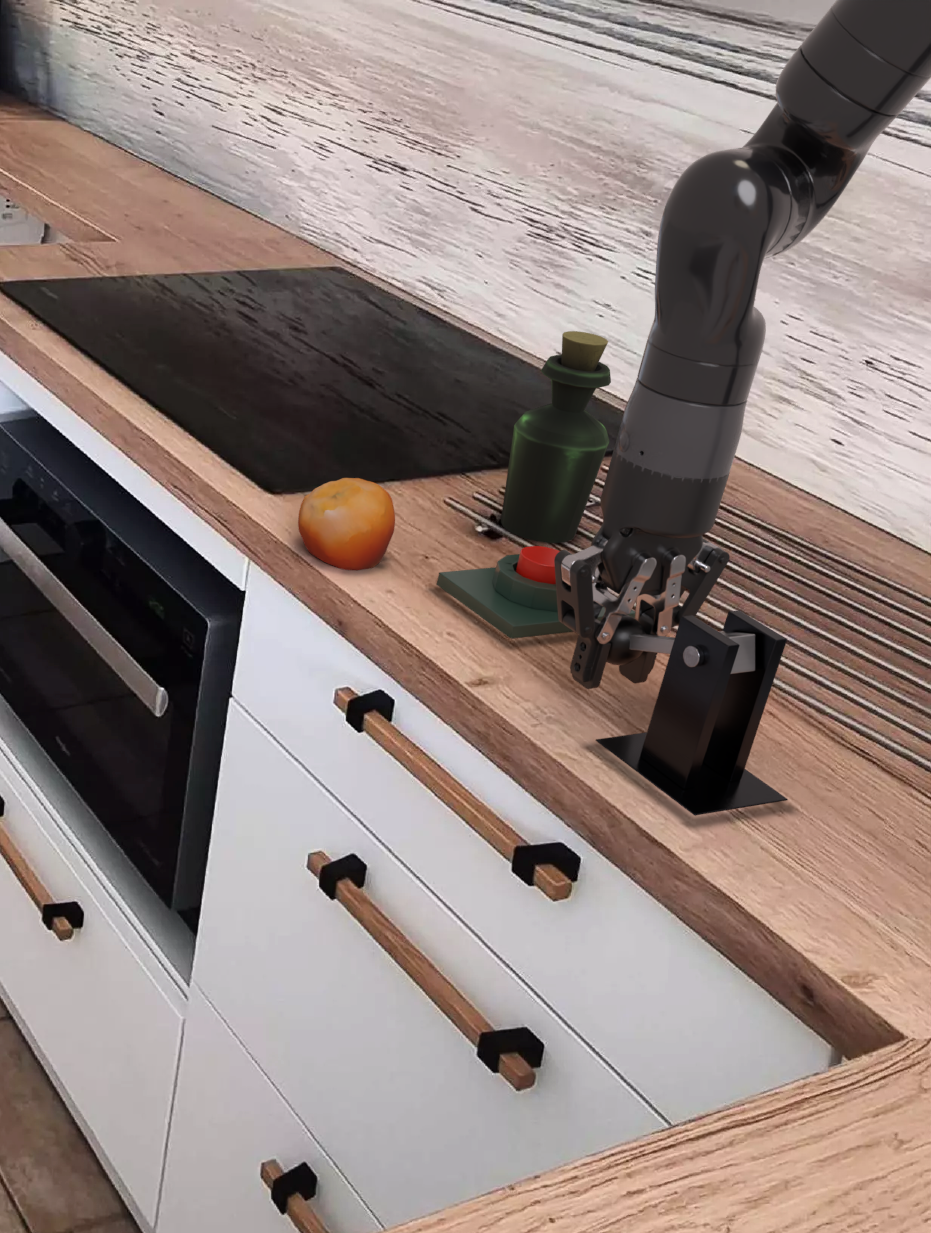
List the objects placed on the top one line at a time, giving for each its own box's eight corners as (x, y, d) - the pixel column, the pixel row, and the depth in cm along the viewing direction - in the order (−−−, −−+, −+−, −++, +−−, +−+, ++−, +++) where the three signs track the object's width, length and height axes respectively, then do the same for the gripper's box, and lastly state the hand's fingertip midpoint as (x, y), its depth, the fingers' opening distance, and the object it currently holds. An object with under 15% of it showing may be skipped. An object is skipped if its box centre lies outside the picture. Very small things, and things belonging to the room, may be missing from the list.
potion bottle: (596, 535, 161) (648, 341, 152) (562, 559, 155) (613, 358, 146) (512, 508, 165) (558, 318, 156) (475, 530, 159) (521, 334, 150)
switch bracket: (590, 754, 123) (634, 599, 118) (680, 741, 126) (727, 590, 121) (689, 830, 115) (741, 668, 110) (783, 814, 118) (838, 656, 113)
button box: (552, 585, 149) (563, 541, 147) (630, 637, 141) (643, 591, 139) (433, 596, 145) (443, 551, 143) (507, 651, 137) (519, 604, 135)
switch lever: (581, 664, 126) (581, 614, 126) (621, 660, 128) (621, 610, 127) (721, 684, 114) (721, 628, 114) (763, 679, 116) (764, 623, 115)
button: (545, 563, 144) (550, 543, 143) (577, 584, 140) (582, 564, 140) (505, 567, 142) (510, 547, 141) (536, 588, 139) (541, 568, 138)
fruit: (428, 554, 149) (406, 482, 144) (355, 609, 147) (330, 539, 142) (367, 518, 155) (343, 448, 150) (297, 570, 153) (271, 501, 148)
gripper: (626, 480, 113) (561, 716, 121) (794, 468, 118) (721, 695, 126) (552, 438, 119) (495, 666, 127) (715, 429, 124) (651, 648, 132)
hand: (608, 679), depth 127 cm, fingers closed on switch lever, 3 cm apart
